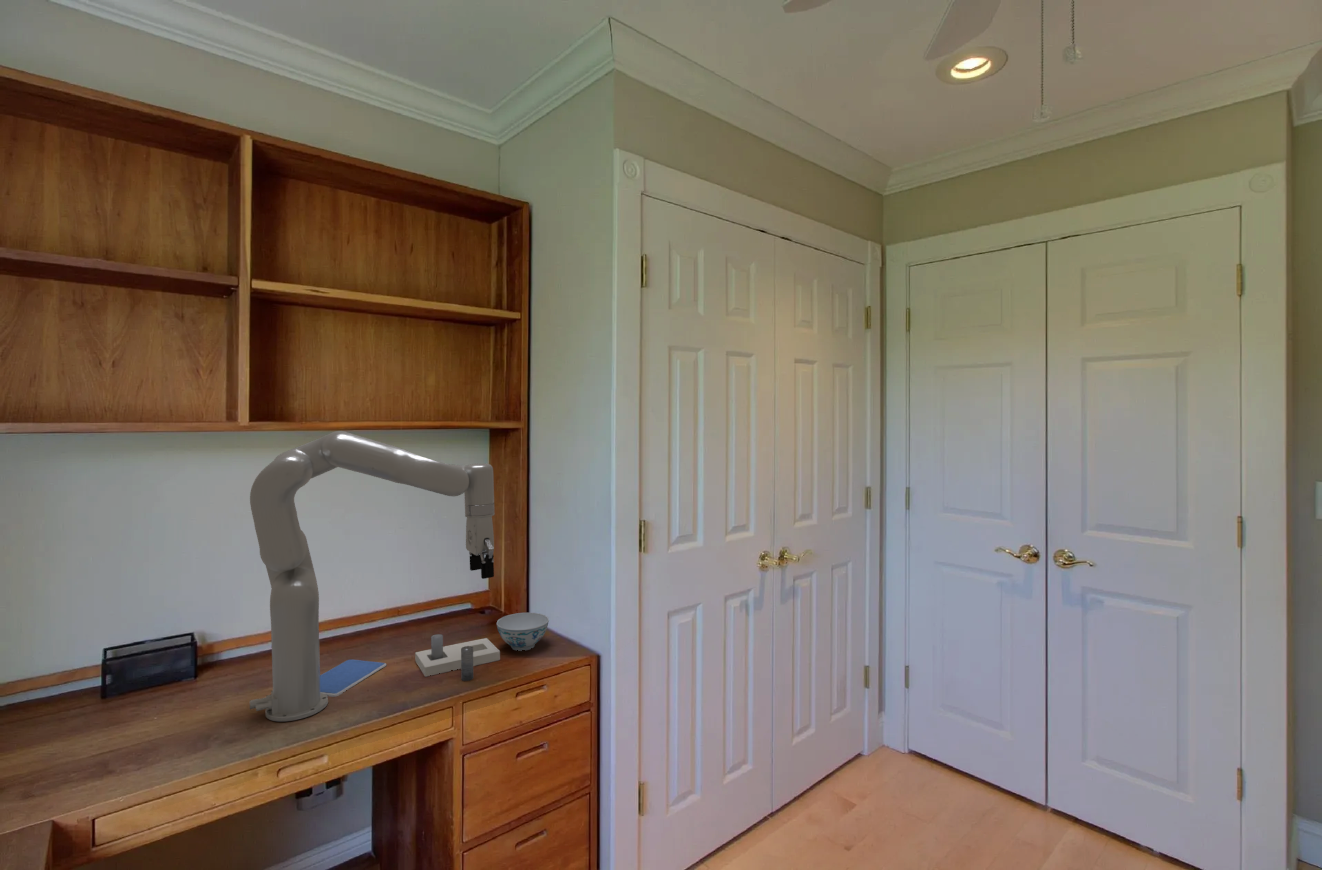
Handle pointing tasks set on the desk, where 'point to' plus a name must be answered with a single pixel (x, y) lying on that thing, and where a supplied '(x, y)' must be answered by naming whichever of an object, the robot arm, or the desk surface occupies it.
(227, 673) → the desk surface
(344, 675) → the tablet computer
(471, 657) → the steel pin
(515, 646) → the chinaware
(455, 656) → the pin board
